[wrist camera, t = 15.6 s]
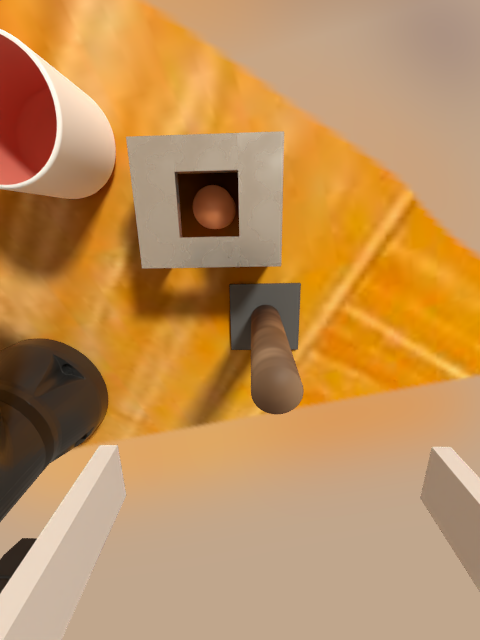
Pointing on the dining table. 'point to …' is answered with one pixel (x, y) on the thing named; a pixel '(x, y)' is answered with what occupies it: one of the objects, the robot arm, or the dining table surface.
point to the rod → (272, 364)
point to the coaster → (255, 295)
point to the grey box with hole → (208, 157)
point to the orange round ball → (214, 207)
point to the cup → (49, 129)
